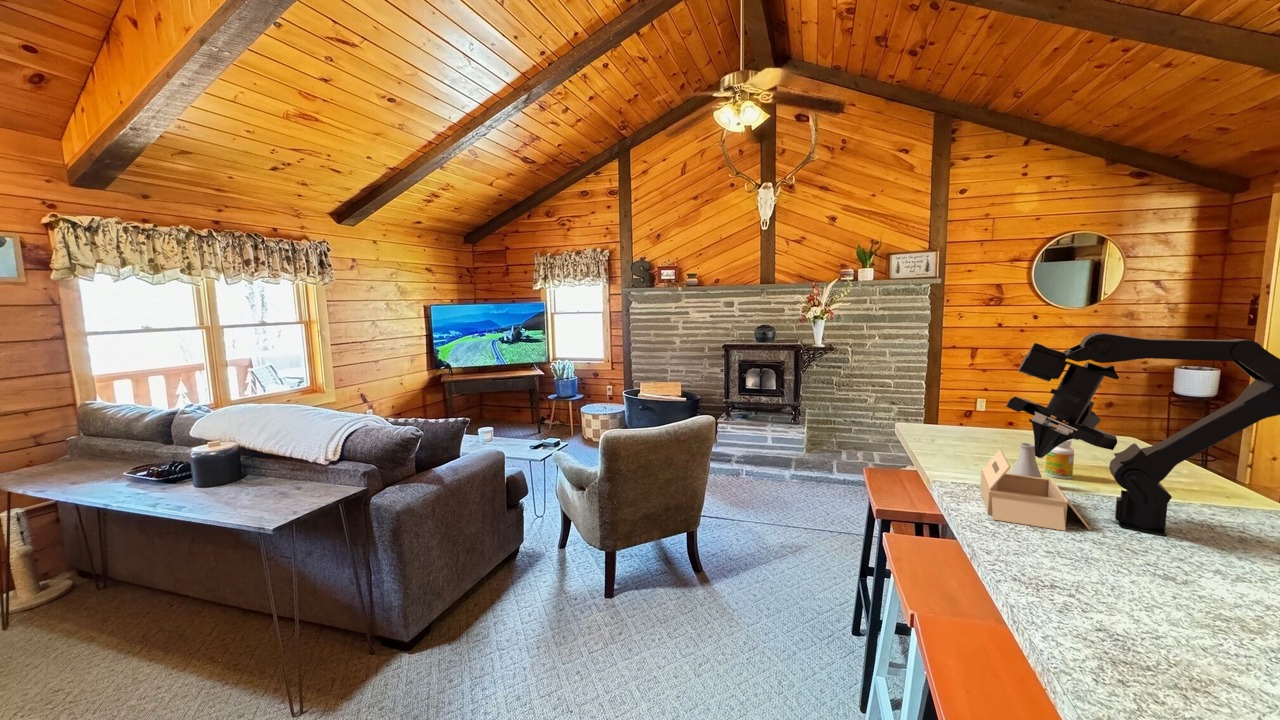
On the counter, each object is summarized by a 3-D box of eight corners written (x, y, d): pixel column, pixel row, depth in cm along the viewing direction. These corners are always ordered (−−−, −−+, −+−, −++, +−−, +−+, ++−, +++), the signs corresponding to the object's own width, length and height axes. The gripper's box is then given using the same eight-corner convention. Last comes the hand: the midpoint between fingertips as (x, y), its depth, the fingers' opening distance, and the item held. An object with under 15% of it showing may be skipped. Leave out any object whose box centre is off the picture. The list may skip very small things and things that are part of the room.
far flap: (983, 470, 116) (1001, 449, 114) (991, 489, 104) (1010, 467, 102) (982, 469, 116) (999, 448, 114) (989, 488, 104) (1008, 466, 102)
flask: (1052, 489, 118) (1055, 448, 116) (1021, 489, 118) (1024, 449, 117) (1028, 478, 125) (1031, 440, 124) (999, 479, 125) (1002, 440, 124)
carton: (1067, 498, 112) (1068, 476, 111) (1095, 536, 94) (1097, 510, 93) (978, 486, 120) (979, 466, 119) (989, 519, 102) (990, 495, 101)
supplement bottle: (1040, 474, 127) (1042, 437, 126) (1051, 470, 130) (1054, 434, 129) (1065, 480, 123) (1068, 442, 122) (1076, 477, 125) (1079, 439, 124)
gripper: (1152, 416, 95) (1110, 486, 99) (1054, 381, 112) (1021, 441, 116) (1118, 407, 92) (1075, 479, 95) (1021, 372, 109) (988, 434, 112)
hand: (1038, 457), depth 105 cm, fingers closed
